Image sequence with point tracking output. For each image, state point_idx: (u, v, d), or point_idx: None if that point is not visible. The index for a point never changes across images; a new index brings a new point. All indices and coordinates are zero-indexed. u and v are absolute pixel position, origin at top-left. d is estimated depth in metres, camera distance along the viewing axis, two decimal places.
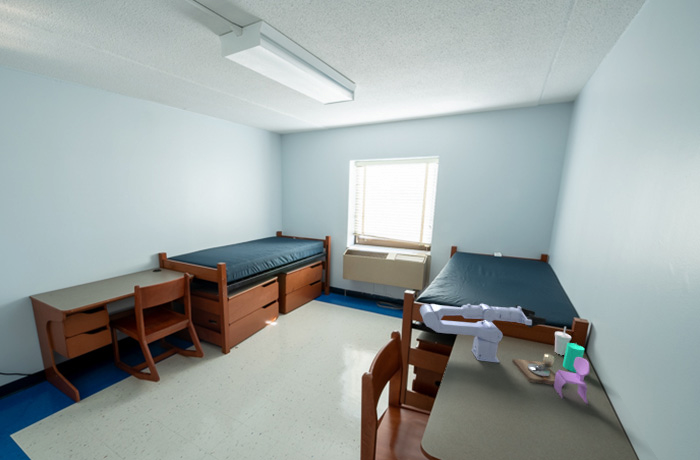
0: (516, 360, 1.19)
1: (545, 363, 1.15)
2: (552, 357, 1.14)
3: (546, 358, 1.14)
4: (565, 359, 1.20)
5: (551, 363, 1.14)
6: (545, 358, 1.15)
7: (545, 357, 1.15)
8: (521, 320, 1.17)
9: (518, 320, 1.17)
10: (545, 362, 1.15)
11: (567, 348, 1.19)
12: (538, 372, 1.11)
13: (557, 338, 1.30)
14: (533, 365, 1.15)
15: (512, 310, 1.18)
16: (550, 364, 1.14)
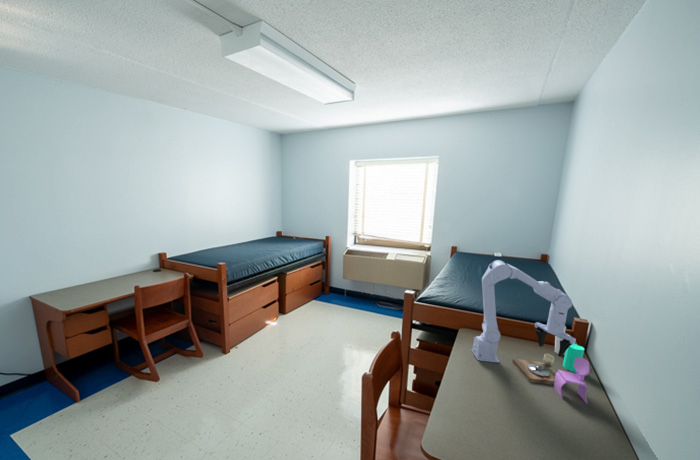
0: (516, 360, 1.19)
1: (545, 363, 1.15)
2: (552, 357, 1.14)
3: (546, 358, 1.14)
4: (565, 359, 1.20)
5: (551, 363, 1.14)
6: (545, 358, 1.15)
7: (545, 357, 1.15)
8: (560, 334, 1.10)
9: (559, 332, 1.10)
10: (545, 362, 1.15)
11: None
12: (538, 372, 1.11)
13: (557, 338, 1.30)
14: (533, 365, 1.15)
15: None
16: (550, 364, 1.14)
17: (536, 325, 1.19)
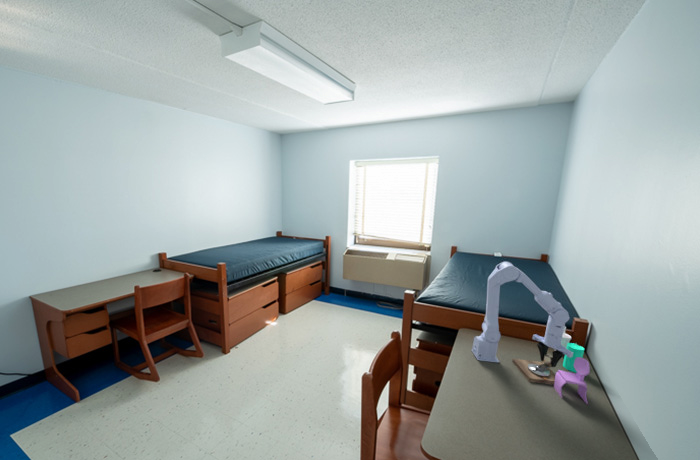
0: (516, 360, 1.19)
1: (545, 363, 1.15)
2: (552, 357, 1.14)
3: (546, 358, 1.14)
4: (565, 359, 1.20)
5: (551, 363, 1.14)
6: (545, 358, 1.15)
7: (545, 357, 1.15)
8: (558, 347, 1.11)
9: (557, 345, 1.11)
10: (545, 362, 1.15)
11: (567, 348, 1.19)
12: (538, 372, 1.11)
13: None
14: (533, 365, 1.15)
15: None
16: (550, 364, 1.14)
17: (534, 337, 1.20)
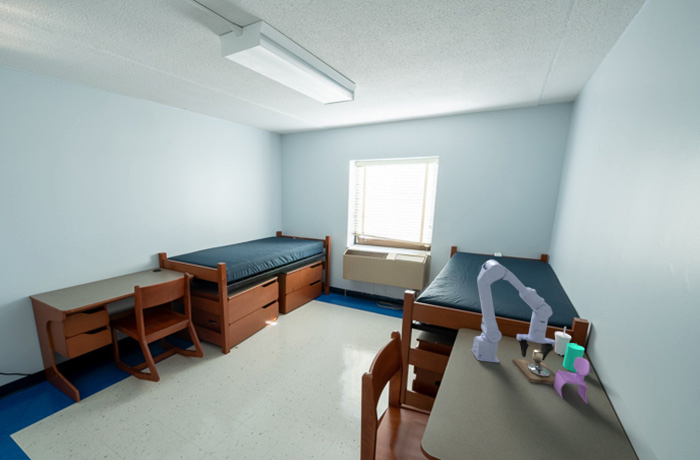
0: (516, 360, 1.19)
1: (537, 360, 1.17)
2: (541, 352, 1.17)
3: (538, 355, 1.16)
4: (565, 359, 1.20)
5: (542, 358, 1.17)
6: (537, 355, 1.17)
7: (537, 354, 1.17)
8: (544, 340, 1.16)
9: (544, 338, 1.16)
10: (537, 359, 1.17)
11: (567, 348, 1.19)
12: (543, 373, 1.10)
13: (557, 338, 1.30)
14: (531, 366, 1.14)
15: None
16: (541, 360, 1.16)
17: (520, 338, 1.18)
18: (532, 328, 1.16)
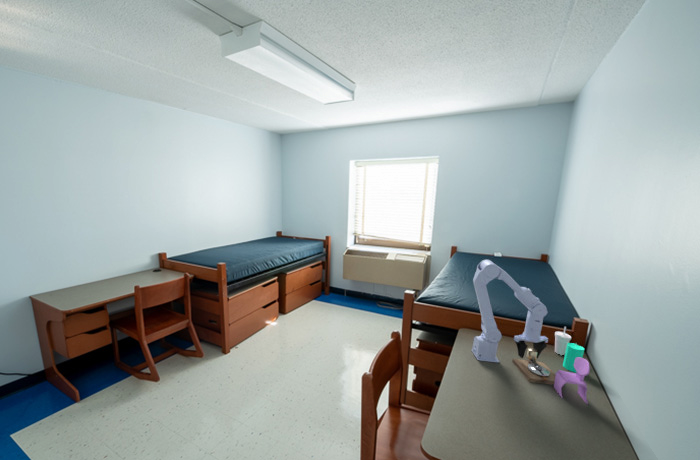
0: (516, 360, 1.19)
1: (533, 359, 1.17)
2: (535, 350, 1.18)
3: (533, 354, 1.17)
4: (565, 359, 1.20)
5: (536, 356, 1.18)
6: (533, 354, 1.17)
7: (532, 353, 1.17)
8: None
9: None
10: (533, 358, 1.17)
11: (567, 348, 1.19)
12: (544, 373, 1.10)
13: (557, 338, 1.30)
14: (531, 367, 1.14)
15: None
16: None
17: (518, 340, 1.16)
18: (529, 328, 1.16)
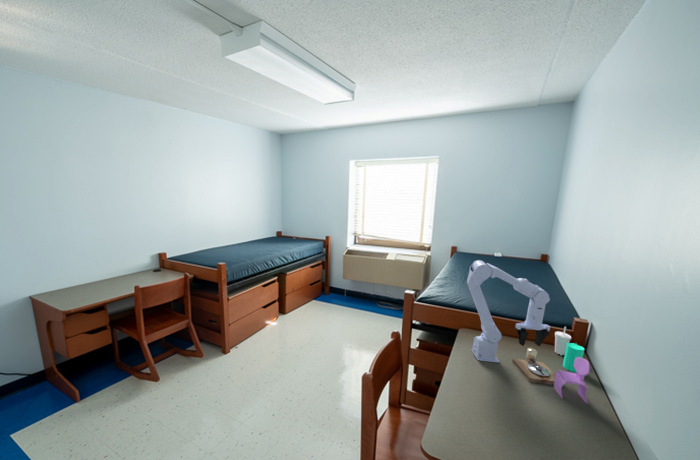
0: (516, 360, 1.19)
1: (532, 359, 1.17)
2: (535, 350, 1.18)
3: (533, 354, 1.17)
4: (565, 359, 1.20)
5: (536, 356, 1.18)
6: (532, 354, 1.17)
7: (532, 353, 1.17)
8: (541, 326, 1.16)
9: None
10: (532, 358, 1.17)
11: (567, 348, 1.19)
12: (545, 373, 1.10)
13: (557, 338, 1.30)
14: (531, 367, 1.14)
15: None
16: None
17: (520, 327, 1.15)
18: (531, 316, 1.15)
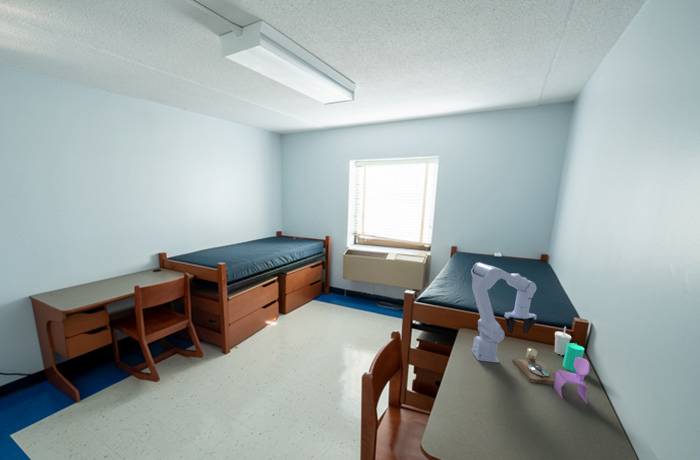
0: (516, 360, 1.19)
1: (532, 359, 1.17)
2: (535, 350, 1.18)
3: (533, 354, 1.17)
4: (565, 359, 1.20)
5: (536, 356, 1.18)
6: (532, 354, 1.17)
7: (532, 353, 1.17)
8: (528, 315, 1.25)
9: None
10: (532, 358, 1.17)
11: (567, 348, 1.19)
12: (545, 373, 1.10)
13: (557, 338, 1.30)
14: (531, 367, 1.14)
15: None
16: None
17: (508, 316, 1.24)
18: (518, 305, 1.23)
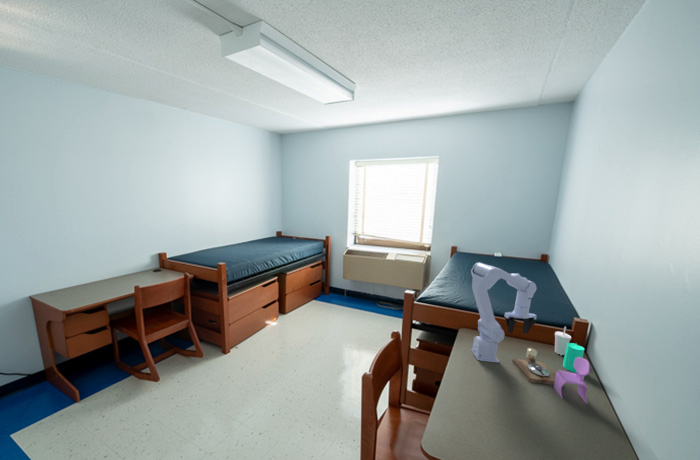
0: (516, 360, 1.19)
1: (532, 359, 1.17)
2: (535, 350, 1.18)
3: (533, 354, 1.17)
4: (565, 359, 1.20)
5: (536, 356, 1.18)
6: (532, 354, 1.17)
7: (532, 353, 1.17)
8: (528, 315, 1.25)
9: None
10: (532, 358, 1.17)
11: (567, 348, 1.19)
12: (545, 373, 1.10)
13: (557, 338, 1.30)
14: (531, 367, 1.14)
15: None
16: None
17: (508, 316, 1.24)
18: (518, 305, 1.23)
